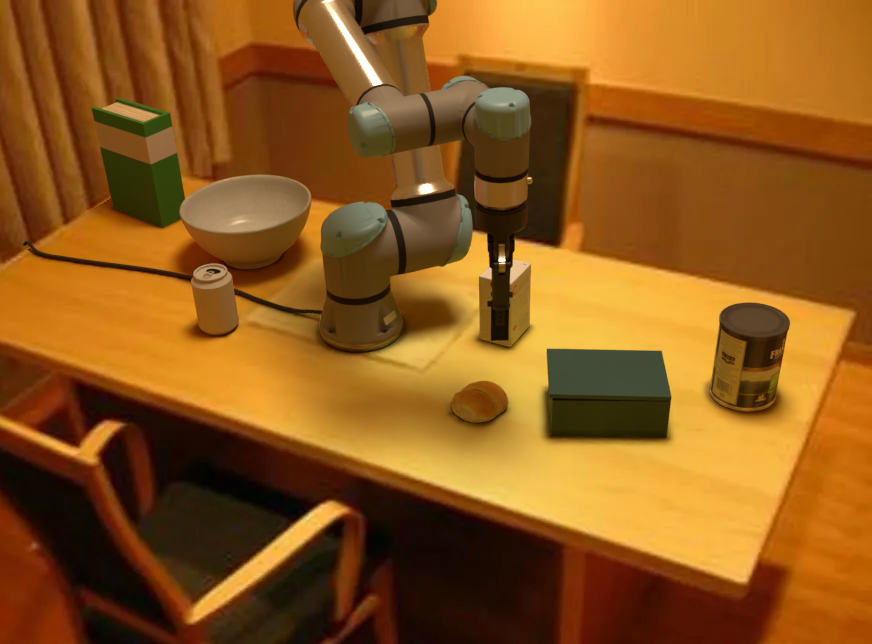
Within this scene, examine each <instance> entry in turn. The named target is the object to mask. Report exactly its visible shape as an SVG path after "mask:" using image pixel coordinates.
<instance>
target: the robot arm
mask: <svg viewBox="0 0 872 644" xmlns="http://www.w3.org/2000/svg"><path fill="white" fill-rule="evenodd" d="M437 7H438V0H293V3H292V12H293V13H292V14H293V20H294V23H295V25H296V28H297V30H298V31H299V33H300V35H301V37H302V38H303V39H304V40H305V41H306V42H307V43H308V44H310V45H312V46H314V47H315V49H316V50H317V52H318V54H319V55H320V57H321V59H322V61H323V62H324V64H325V66H326V68H327V69H328V72H329V73H330V75H331V76H332V78H333V80H334V82H335V83H336V85H337V86H338V88H339V90H340V92H341V93H342V96H343V97H344V99H345V101H346V103H347V104H348V106H349V108H350V109H349V110H348V112H347V117H346V124H347V125H346V127H347V133H348V138H349V140H350V142H351V147H352V149H353V151H354V153H355V154H356V155H357V156H359V158H364V159H368V158H373V157H387V156H391V162H392V169H393V173H394V179H395V188H394V190H393V192H392V193H391V195H390V196H389V201H390V208H387V209H385V208H384V206H382V205H381V204H379V203H377V202H373V201H368V202H365V201H356V202H352V203H351V202H350V203H348V204H345V205H342V206H340V207H338V208H336V209H333V211H331V212H330V213H329V214H328V215H327V217H325V218H324V220H323V222H322V224H321V225H320V247H319V248H320V251H321V256H322V265H323V266H322V267H323V275H324V276H323V277H324V285H325V294H326V295H325V299H324V303H323V306H322V310H321V309H312V308H311V309H310V308H309V309H308V308H294V307H290V306H285V305H281V304H278V303H275V302H272V301H269V300H266V299H263V298H261V297H258V296H255V295H253V294H250V293H248V292H245V291H243V290H240V289H237V288H235V287H234V293H235V294H238V295H240V296H243V297H246V298H248V299H250V300H252V301H255V302H258V303H261V304H264V305H267V306H269V307H272V308H276V309H278V310H282V311H286V312H290V313H296V314H312V315H313V314H314V315H320V318H319V325H318V326H319V334H320V337H321V339H322V340H323V342H324V343H326V344H327V345H329V346H330V347H332V348H334V349H337V350H339V351H340V350H341V351H344V352H345V351H346V352H353V353H354V352H359V353H360V352H368V351H374V350H378V349H381V348H384V347H386V346H389V345H391V344H392V343H393V342H395V341H396V340H398V338H399V337H400V336H401V335H402V333H403V330H404V318H403V316H402V312H401V309H400V307H399V305H398V302H397V300H396V298H395V296H394V293H393V291H392V287H391V278H392V277H396V276H400V275H406V274H411V273H414V272H419V271H423V270H428V269H432V268H435V267H439V268H440V267H441V268H443V267H446V266H447V265H450V264H454V263H457V262H460V261H462V260H463V259H464V258H466V256H467V255H468V253H469V251H470V248H471V246H472V242H473V231H474V230H473V229H474V228H473V227H474V226H473V224H475V226H476V227H477V229H479V230H480V231H482V232H483V233H486V243H487V244H486V245H487V247H486V248H487V253H488V267H490V268H491V269H492V282H491V287H492V292H491V296H492V300H491V301H487V307H491V341H505V340H509V308H510V303H509V298H513V292H510V270H511V268H512V266H513V259H514V252H515V250H516V239H515V233H518V232H520V231H522V230H523V229H524V228H525V227H526V226H527V223H528V209H529V205H528V204H529V202H528V200H527V199H528V195H529V194H528V193H529V191H528V190H529V187H528V186H529V185H531V184H533V182H534V181H533V177H532V176H529V165H530V142H531V127H532V115H531V104H530V102H531V101H530V99H529V97H528V95H527V94H526V92H524V91H522V90H521V89H514V88H513V87H506V86H505V87H504V86H503V87H492V88H490V87H489V86H488V85H487V84H486V83H483V82H482V81H480V80H477V78H474V77H472V76H468V75H460V76H455V77H453V78H452V79H450V80H449V81H448V82H446V83H445V84H444V85H442V88H440V89H438V90H433V91H431V83H430V76H429V70H428V65H427V64H428V63H427V58H426V57H427V56H426V51H425V46H424V39H423V37H424V34H425V33H426V32H427V30H428V29H429V27H430V21H429V19H430V18H429V17H431V15H433V14H434V13H435V12H436V10H437ZM459 141H465V142H467V143H468V144H469V145H470V146H472V147H473V150H474V173H473V174H474V177H473V178H474V179H473V180H474V184H473V185H474V194H473V195H474V199H475V202H474V223H473V215H472V210H471V208H469V207H470V205H469V202H468V200H467V198H466V197H465V196H464V195H461V194H458V193H457V192H456V187H455V185H454V183H452V182H450V181H449V180H447V179H446V177H445V172H444V165H443V164H444V163H443V158H442V153H441V145H445V144H450V143H454V142H459ZM27 245H28V247H29V248H30V249H31V250H32V251H33V252H34V253H35V254H37V255H39V256H42V257H45V258H50V259H56V260H63V261H69V262H74V263H75V262H76V263H83V264H91V265H96V266H97V265H98V266H104V267H113V268H122V269H127V270H135V271H143V272H150V273H156V274H161V275H162V274H163V275H168V276H173V277H178V278H182V279H187V280H191V279H192V278H193V275H189V274H185V273H182V272H181V273H180V272H175V271H172V270H171V271H170V270H166V269H165V270H164V269H160V268H159V269H158V268H152V267H146V266H141V265H140V266H138V265H132V264H124V263H117V262H110V261H109V262H108V261H100V260H94V259H93V260H92V259H86V258H80V257H79V258H78V257H72V256H65V255H59V254H52V253H47V252H43V251H40V250H39V249H37V248H36V247H35V246H34V245H33V243H32V242H30V241H29V240H25V241H24V242H23V243H22V246H24V247H25V246H27Z"/></svg>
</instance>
